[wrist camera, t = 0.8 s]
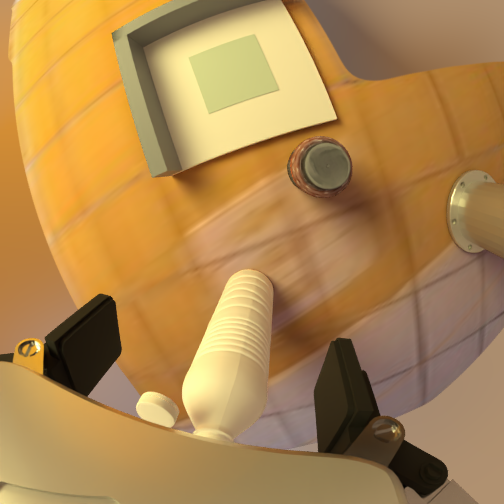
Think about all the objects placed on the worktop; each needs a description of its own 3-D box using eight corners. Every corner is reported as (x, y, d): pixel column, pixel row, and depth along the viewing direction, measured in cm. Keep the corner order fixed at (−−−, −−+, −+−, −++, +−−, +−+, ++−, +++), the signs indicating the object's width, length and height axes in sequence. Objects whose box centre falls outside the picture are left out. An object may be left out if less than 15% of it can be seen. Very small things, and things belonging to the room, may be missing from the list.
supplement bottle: (309, 201, 33) (324, 216, 23) (276, 166, 32) (276, 163, 22) (344, 170, 32) (374, 171, 21) (312, 134, 31) (328, 117, 20)
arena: (274, -8, 25) (272, -31, 19) (335, 120, 30) (347, 110, 24) (131, 47, 29) (111, 33, 23) (171, 175, 34) (152, 177, 28)
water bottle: (283, 291, 37) (284, 456, 13) (250, 319, 39) (217, 478, 15) (237, 246, 36) (166, 382, 12) (204, 278, 38) (116, 418, 14)
